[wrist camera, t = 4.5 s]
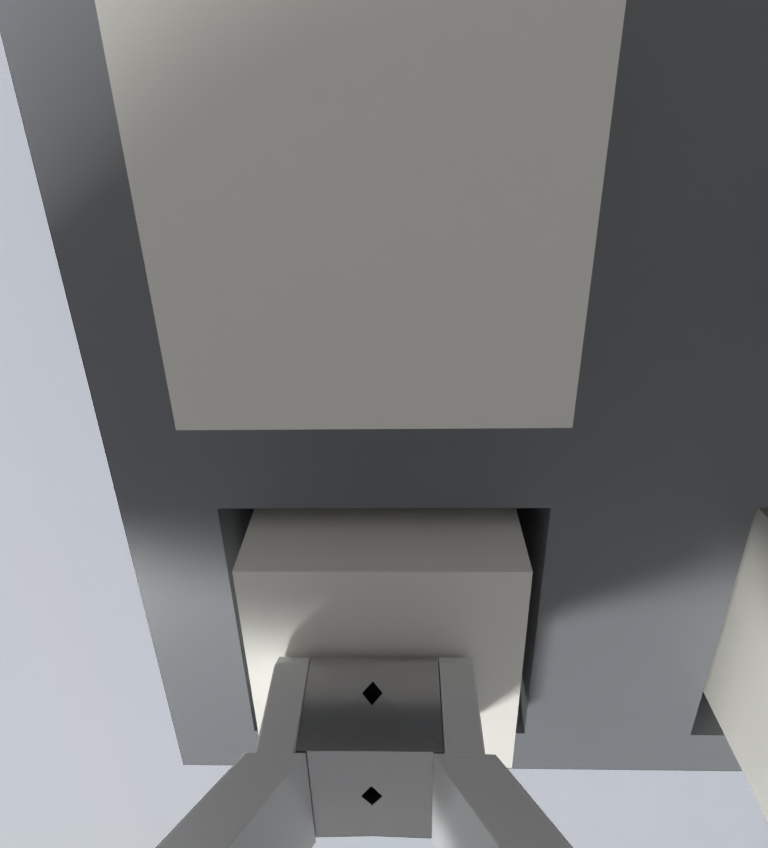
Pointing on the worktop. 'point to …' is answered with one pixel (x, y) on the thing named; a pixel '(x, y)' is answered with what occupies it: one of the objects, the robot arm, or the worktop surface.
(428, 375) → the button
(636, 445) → the button board
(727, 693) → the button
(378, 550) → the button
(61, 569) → the worktop surface
